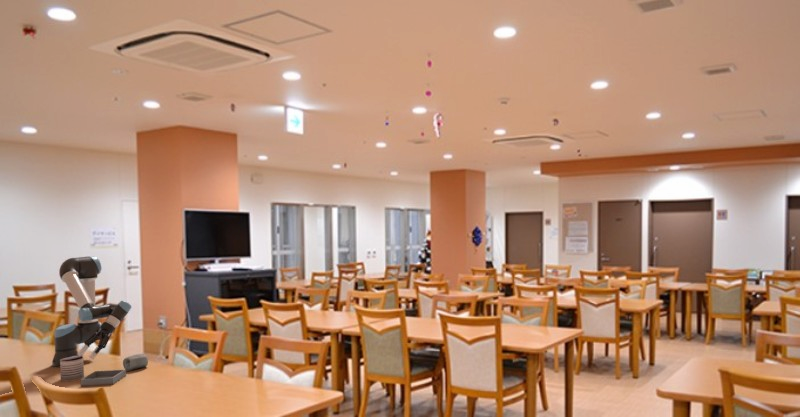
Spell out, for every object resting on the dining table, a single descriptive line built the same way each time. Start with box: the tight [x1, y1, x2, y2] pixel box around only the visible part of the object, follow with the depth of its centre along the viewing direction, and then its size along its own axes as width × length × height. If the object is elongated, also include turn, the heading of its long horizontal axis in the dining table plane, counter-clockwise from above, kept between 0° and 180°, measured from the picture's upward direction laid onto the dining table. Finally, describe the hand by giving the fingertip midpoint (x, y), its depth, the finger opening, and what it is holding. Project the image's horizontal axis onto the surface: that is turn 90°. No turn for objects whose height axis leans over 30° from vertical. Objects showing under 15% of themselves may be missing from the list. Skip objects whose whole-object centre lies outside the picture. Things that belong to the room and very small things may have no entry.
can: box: [60, 354, 85, 382], centre depth 323 cm, size 11×11×12 cm
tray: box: [80, 369, 127, 387], centre depth 316 cm, size 17×17×4 cm
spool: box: [122, 353, 149, 372], centre depth 339 cm, size 14×10×10 cm
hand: (85, 356), depth 328 cm, fingers open, 13 cm apart
